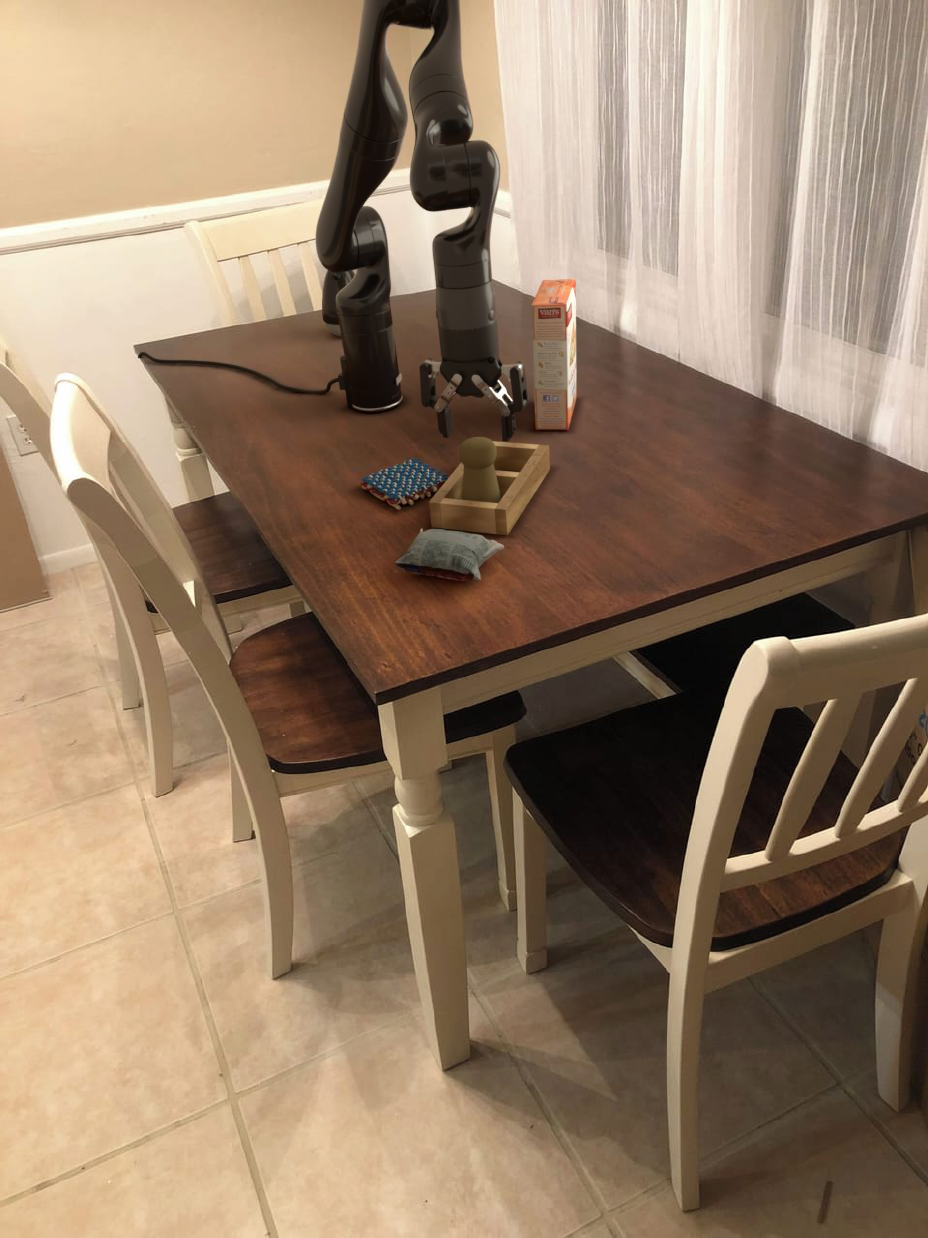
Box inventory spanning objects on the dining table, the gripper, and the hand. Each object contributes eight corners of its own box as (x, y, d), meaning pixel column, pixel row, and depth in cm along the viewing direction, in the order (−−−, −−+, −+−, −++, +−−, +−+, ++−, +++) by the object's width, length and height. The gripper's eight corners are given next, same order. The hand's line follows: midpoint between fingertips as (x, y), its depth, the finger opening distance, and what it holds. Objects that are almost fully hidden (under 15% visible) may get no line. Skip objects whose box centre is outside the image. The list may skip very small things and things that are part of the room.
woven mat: (358, 489, 145) (356, 477, 144) (415, 467, 150) (414, 455, 149) (395, 512, 138) (393, 499, 137) (454, 488, 143) (453, 476, 141)
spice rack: (431, 527, 133) (428, 502, 131) (481, 463, 149) (479, 439, 147) (507, 535, 129) (505, 509, 127) (550, 469, 145) (549, 445, 143)
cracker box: (571, 431, 156) (567, 302, 144) (534, 431, 157) (528, 303, 146) (579, 399, 167) (577, 276, 156) (545, 399, 169) (540, 278, 157)
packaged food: (424, 546, 129) (420, 514, 126) (505, 558, 124) (503, 525, 122) (395, 579, 123) (390, 546, 120) (479, 594, 118) (476, 560, 115)
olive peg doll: (508, 504, 137) (504, 432, 131) (496, 524, 132) (491, 451, 126) (469, 501, 139) (462, 430, 133) (455, 520, 134) (448, 448, 128)
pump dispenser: (320, 342, 206) (308, 270, 198) (332, 326, 215) (320, 257, 206) (366, 340, 205) (355, 267, 196) (376, 325, 213) (366, 254, 205)
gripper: (529, 309, 121) (535, 429, 130) (426, 307, 125) (438, 423, 134) (511, 328, 115) (519, 452, 124) (403, 325, 120) (418, 445, 129)
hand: (477, 437), depth 129 cm, fingers open, 8 cm apart
